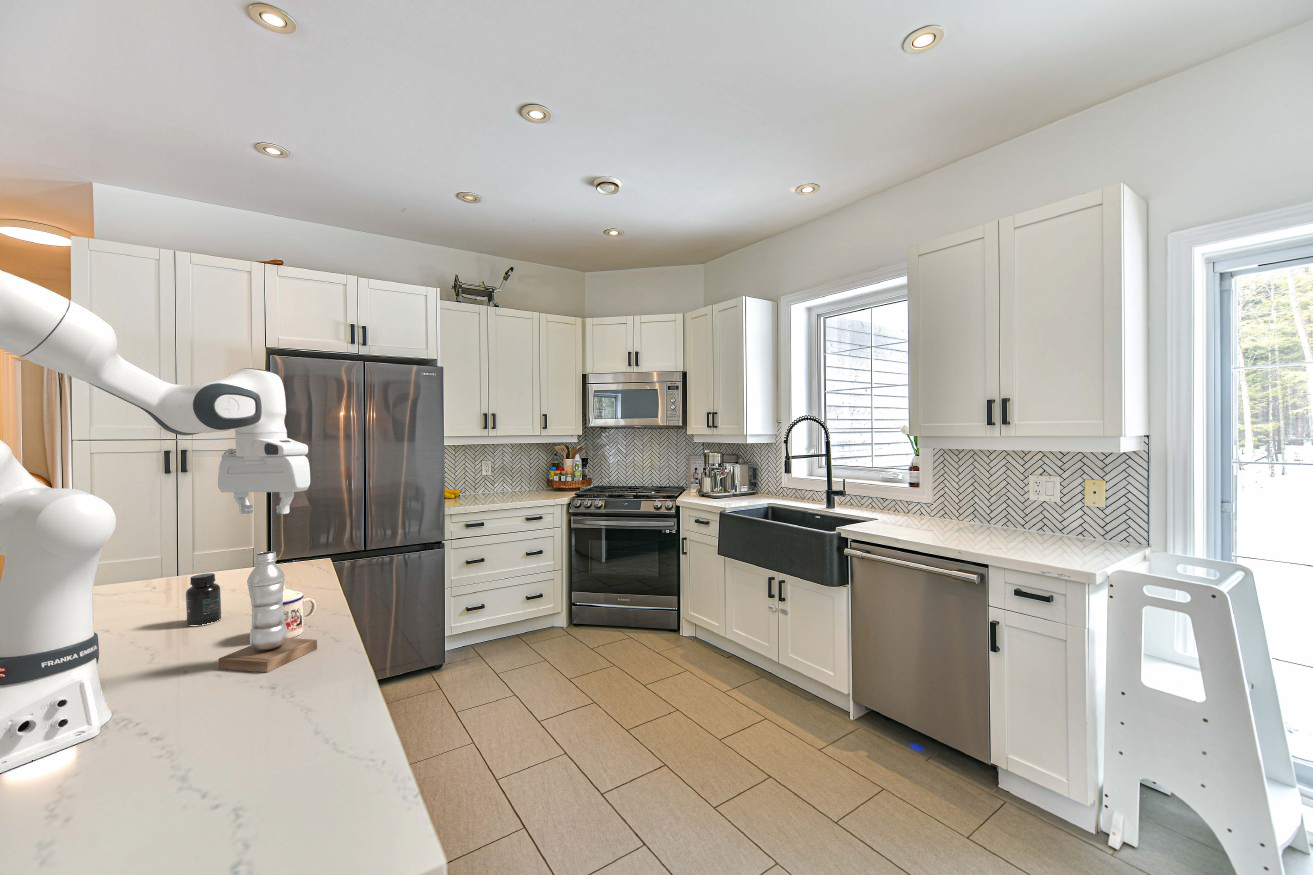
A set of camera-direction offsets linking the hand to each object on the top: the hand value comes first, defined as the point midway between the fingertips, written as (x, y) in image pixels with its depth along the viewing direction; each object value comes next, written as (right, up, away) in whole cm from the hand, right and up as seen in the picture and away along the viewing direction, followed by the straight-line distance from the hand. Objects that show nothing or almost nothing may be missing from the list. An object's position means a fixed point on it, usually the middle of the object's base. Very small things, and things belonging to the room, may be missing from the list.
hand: (264, 513), depth 117 cm
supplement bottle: (-33, -31, +26) cm, 52 cm away
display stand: (+1, -30, 0) cm, 30 cm away
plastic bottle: (+1, -28, 0) cm, 28 cm away
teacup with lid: (-5, -31, +15) cm, 34 cm away
